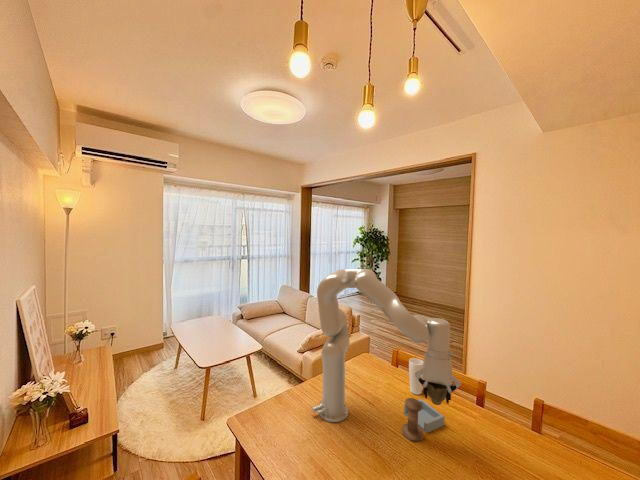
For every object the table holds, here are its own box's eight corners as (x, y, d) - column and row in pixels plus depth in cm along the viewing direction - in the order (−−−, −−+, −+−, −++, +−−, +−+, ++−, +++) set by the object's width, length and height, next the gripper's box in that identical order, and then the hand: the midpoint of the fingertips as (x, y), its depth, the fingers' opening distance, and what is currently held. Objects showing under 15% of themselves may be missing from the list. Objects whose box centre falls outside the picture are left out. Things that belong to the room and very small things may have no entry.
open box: (426, 433, 99) (426, 424, 99) (404, 413, 109) (404, 404, 109) (444, 425, 103) (444, 416, 103) (420, 406, 114) (421, 398, 114)
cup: (448, 401, 98) (449, 380, 98) (445, 412, 92) (446, 390, 92) (427, 394, 102) (428, 374, 102) (423, 404, 96) (424, 383, 96)
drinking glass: (424, 397, 120) (425, 365, 120) (409, 395, 122) (410, 364, 121) (421, 388, 127) (422, 358, 127) (407, 386, 128) (408, 357, 128)
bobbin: (412, 444, 93) (413, 412, 93) (397, 429, 100) (398, 399, 100) (427, 437, 96) (428, 406, 96) (412, 424, 103) (413, 394, 103)
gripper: (462, 352, 97) (460, 398, 98) (413, 344, 103) (412, 387, 104) (466, 361, 90) (464, 411, 91) (413, 352, 96) (411, 398, 97)
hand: (436, 398), depth 97 cm, fingers closed on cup, 6 cm apart
